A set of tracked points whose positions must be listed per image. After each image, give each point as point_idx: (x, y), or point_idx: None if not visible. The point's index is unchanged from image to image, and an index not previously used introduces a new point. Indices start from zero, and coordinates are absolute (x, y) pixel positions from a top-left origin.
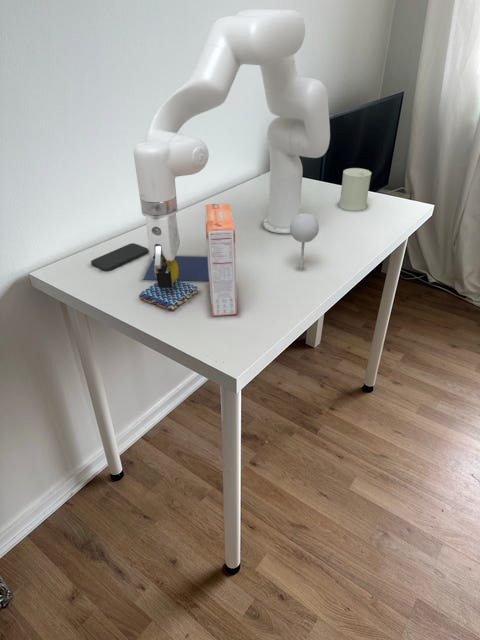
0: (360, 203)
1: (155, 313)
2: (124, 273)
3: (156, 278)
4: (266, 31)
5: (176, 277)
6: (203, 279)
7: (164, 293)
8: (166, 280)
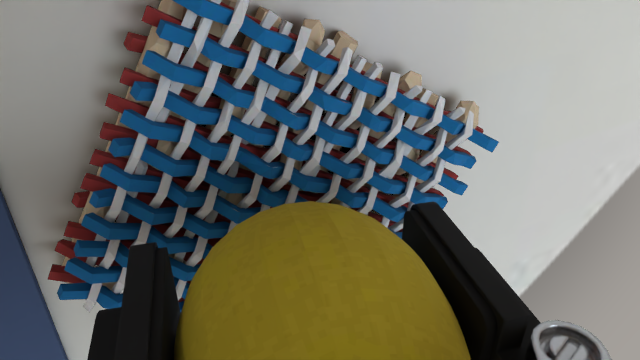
0: None
1: (467, 197)
2: None
3: (38, 338)
4: None
5: (359, 214)
6: None
7: None
8: (503, 281)
